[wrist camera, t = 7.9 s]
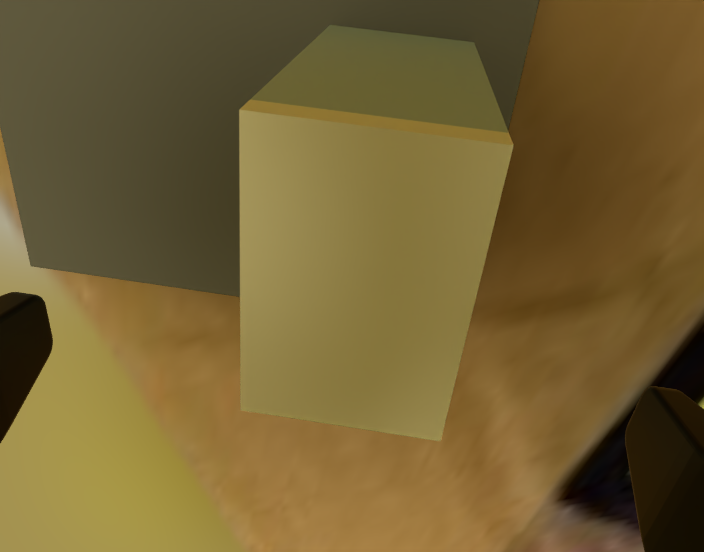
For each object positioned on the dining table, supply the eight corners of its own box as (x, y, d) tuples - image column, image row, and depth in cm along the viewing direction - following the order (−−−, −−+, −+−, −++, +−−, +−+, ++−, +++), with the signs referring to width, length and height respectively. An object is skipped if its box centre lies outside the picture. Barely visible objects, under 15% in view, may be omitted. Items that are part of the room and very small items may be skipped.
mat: (559, -100, 15) (563, -102, 14) (459, 319, 21) (460, 329, 21) (-49, -167, 15) (-65, -170, 15) (40, 258, 22) (30, 266, 22)
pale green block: (473, 42, 16) (513, 144, 8) (436, 235, 19) (440, 441, 11) (330, 24, 16) (239, 109, 9) (316, 219, 19) (240, 409, 12)
